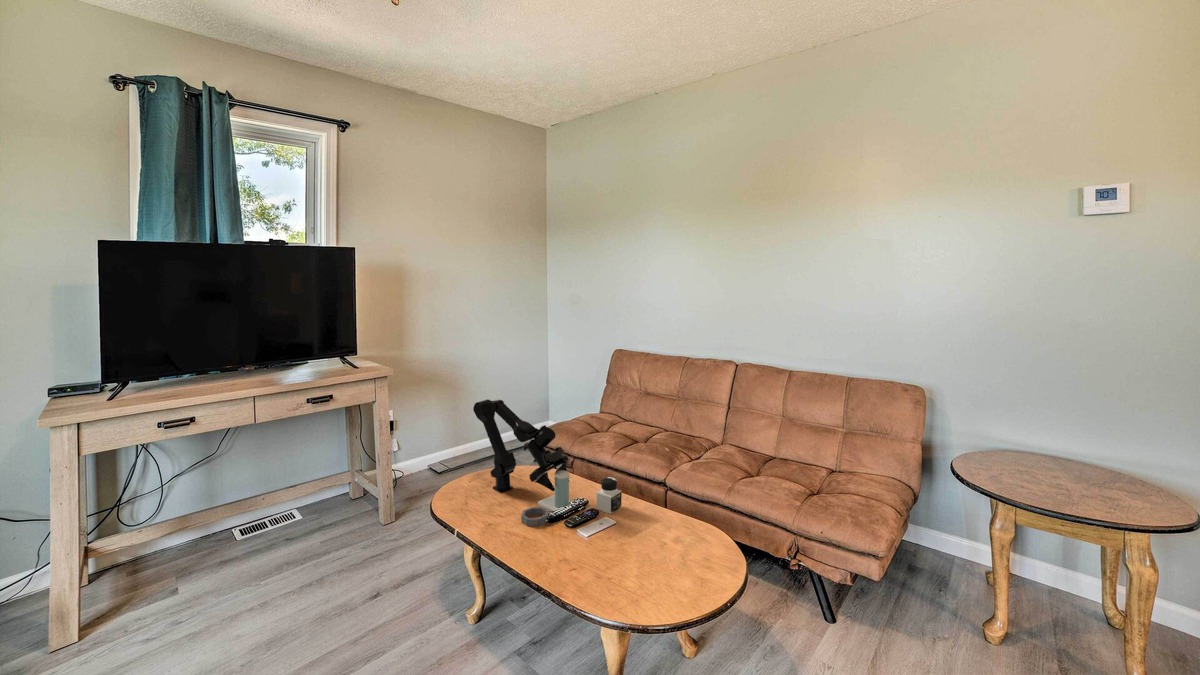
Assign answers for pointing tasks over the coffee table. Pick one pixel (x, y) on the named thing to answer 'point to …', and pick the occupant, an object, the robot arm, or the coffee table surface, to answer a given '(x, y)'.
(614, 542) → the coffee table surface
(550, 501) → the tray
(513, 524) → the coffee table surface
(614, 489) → the medicine bottle
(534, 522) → the holder ring
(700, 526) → the coffee table surface
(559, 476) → the jar
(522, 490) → the coffee table surface
